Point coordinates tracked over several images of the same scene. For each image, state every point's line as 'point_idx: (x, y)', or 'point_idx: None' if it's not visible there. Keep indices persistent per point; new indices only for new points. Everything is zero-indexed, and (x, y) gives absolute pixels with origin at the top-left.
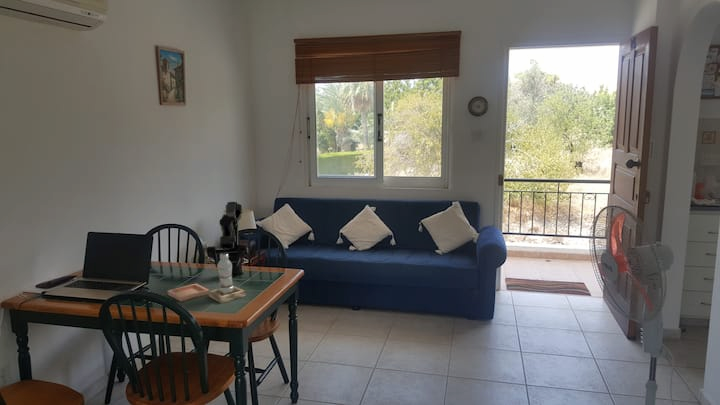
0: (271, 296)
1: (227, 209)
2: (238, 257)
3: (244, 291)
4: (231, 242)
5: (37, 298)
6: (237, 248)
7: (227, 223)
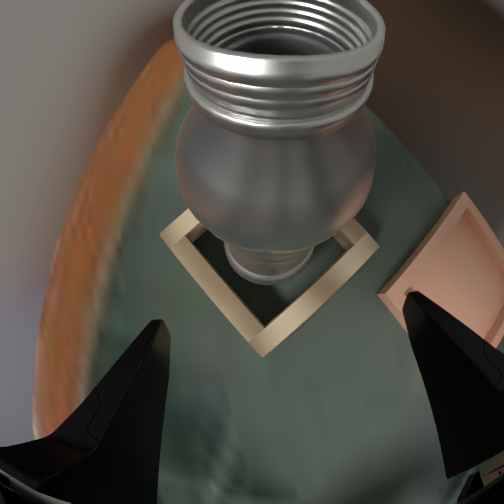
0: (67, 227)
1: None
2: (98, 398)
3: (163, 232)
4: None
5: None
6: None
7: None
